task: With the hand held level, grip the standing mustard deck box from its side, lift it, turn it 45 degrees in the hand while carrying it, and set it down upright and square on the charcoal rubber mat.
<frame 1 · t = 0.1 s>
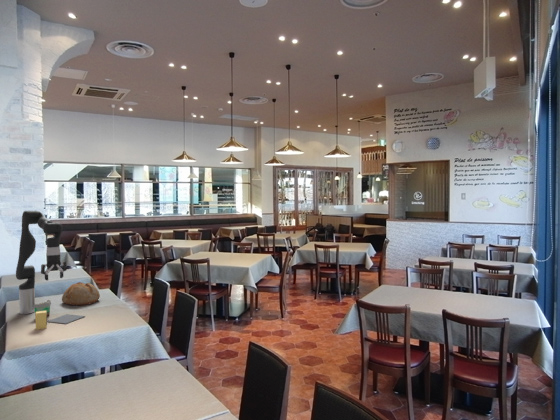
hand: (54, 279, 245), 29 cm above the table, tool pointing down, fingers open, 8 cm apart
bread: (80, 302, 300), on the table
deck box: (41, 327, 240), on the table
food container: (45, 317, 262), on the table
mat: (66, 319, 256), on the table
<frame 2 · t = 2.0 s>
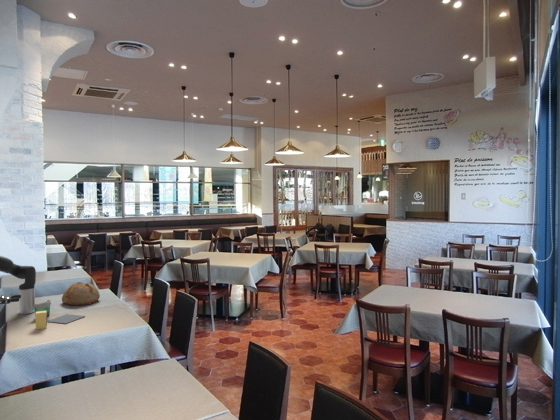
hand: (20, 297, 234), 20 cm above the table, tool horizontal, fingers open, 8 cm apart
nothing on the table moved.
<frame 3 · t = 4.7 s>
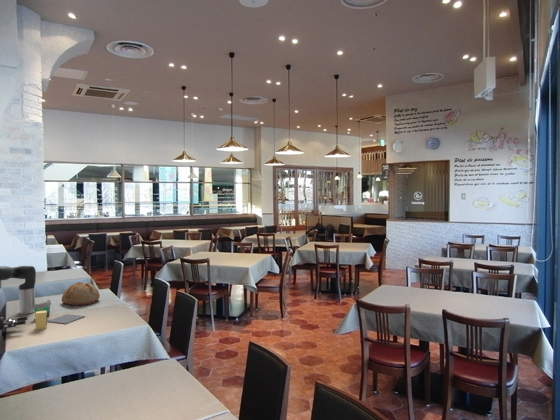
hand: (26, 320, 236), 6 cm above the table, tool horizontal, fingers open, 8 cm apart
nothing on the table moved.
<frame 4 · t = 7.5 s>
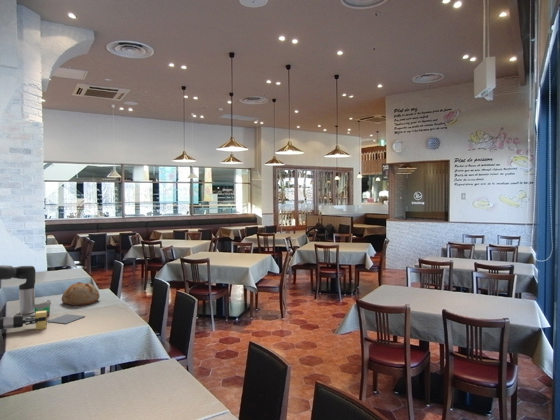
hand: (46, 317, 241), 6 cm above the table, tool horizontal, fingers closed on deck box, 4 cm apart
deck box: (41, 327, 240), on the table, touching gripper
everything else where it was.
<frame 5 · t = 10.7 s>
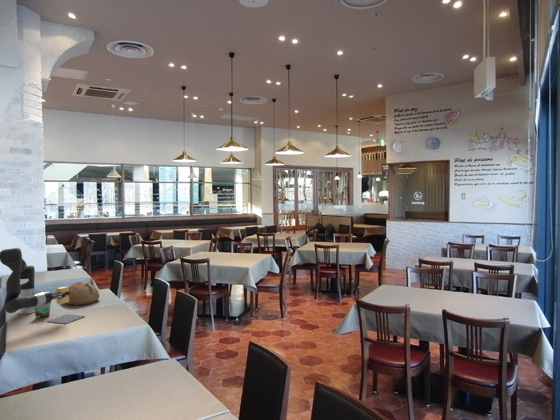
hand: (66, 292, 256), 18 cm above the table, tool horizontal, fingers closed on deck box, 4 cm apart
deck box: (62, 302, 253), point 12 cm above the table, touching gripper
everything else where it was.
when the fingers open (7 cm above the table, at t = 13.9 s): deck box stays where it is, resting on mat.
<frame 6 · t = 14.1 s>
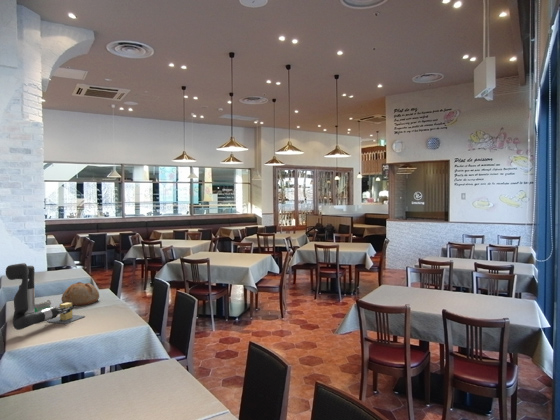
hand: (68, 307, 258), 8 cm above the table, tool horizontal, fingers open, 6 cm apart
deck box: (66, 318, 256), point 1 cm above the table, touching mat
everything else where it was.
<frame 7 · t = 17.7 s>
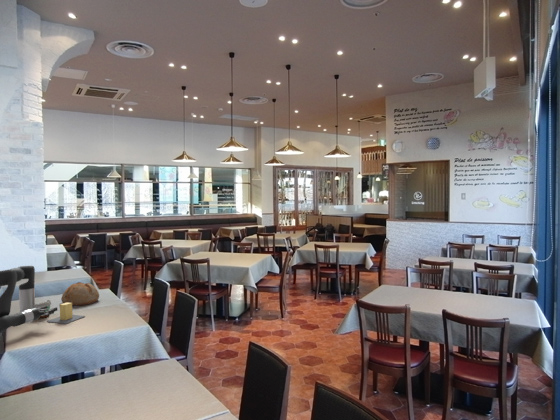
hand: (51, 308, 246), 11 cm above the table, tool horizontal, fingers open, 8 cm apart
nothing on the table moved.
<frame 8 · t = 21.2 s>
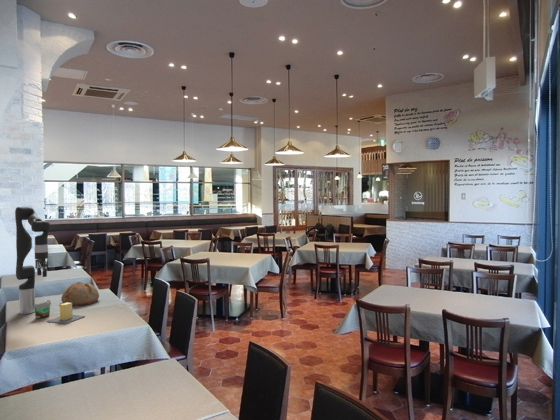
hand: (42, 276, 251), 30 cm above the table, tool pointing down, fingers open, 8 cm apart
nothing on the table moved.
at the end: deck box inside the target area on the mat (0.0 cm from its centre), point 0.6 cm above the mat's base; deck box tilted 0°; the gripper is holding nothing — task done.
